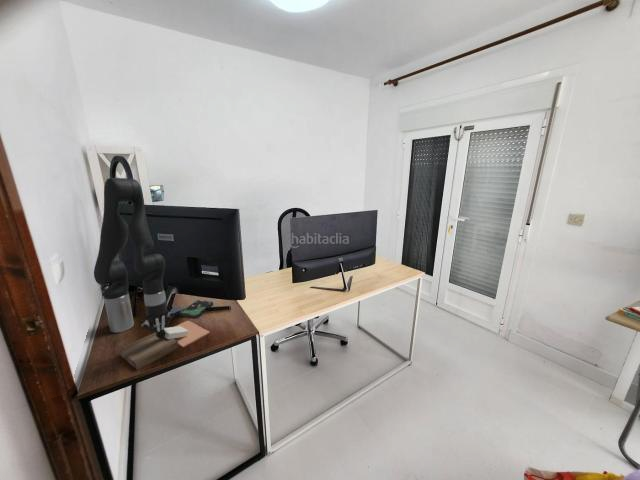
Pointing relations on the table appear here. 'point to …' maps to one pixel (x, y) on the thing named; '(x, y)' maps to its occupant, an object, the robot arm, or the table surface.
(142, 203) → the robot arm
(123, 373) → the table surface
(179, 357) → the table surface
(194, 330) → the mat
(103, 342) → the table surface
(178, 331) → the tile
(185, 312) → the disk drive
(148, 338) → the deck
